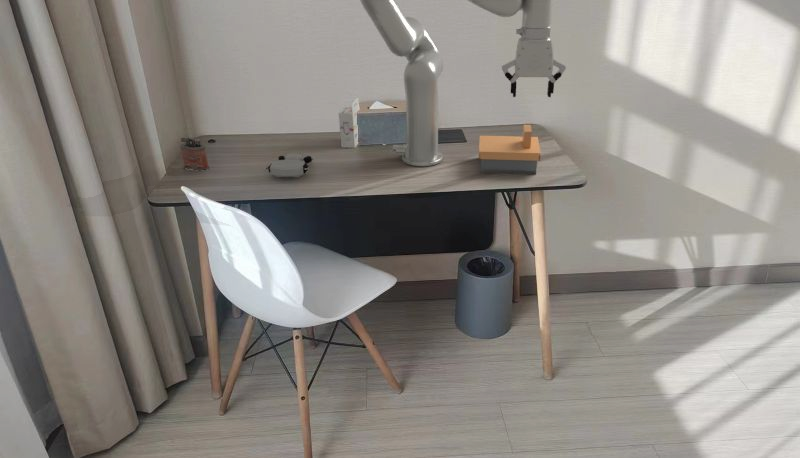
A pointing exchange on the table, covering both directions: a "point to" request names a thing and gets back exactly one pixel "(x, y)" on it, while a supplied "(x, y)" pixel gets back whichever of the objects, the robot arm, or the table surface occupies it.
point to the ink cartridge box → (349, 125)
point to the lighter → (194, 154)
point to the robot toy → (290, 166)
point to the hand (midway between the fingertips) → (531, 95)
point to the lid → (510, 147)
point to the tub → (508, 166)
